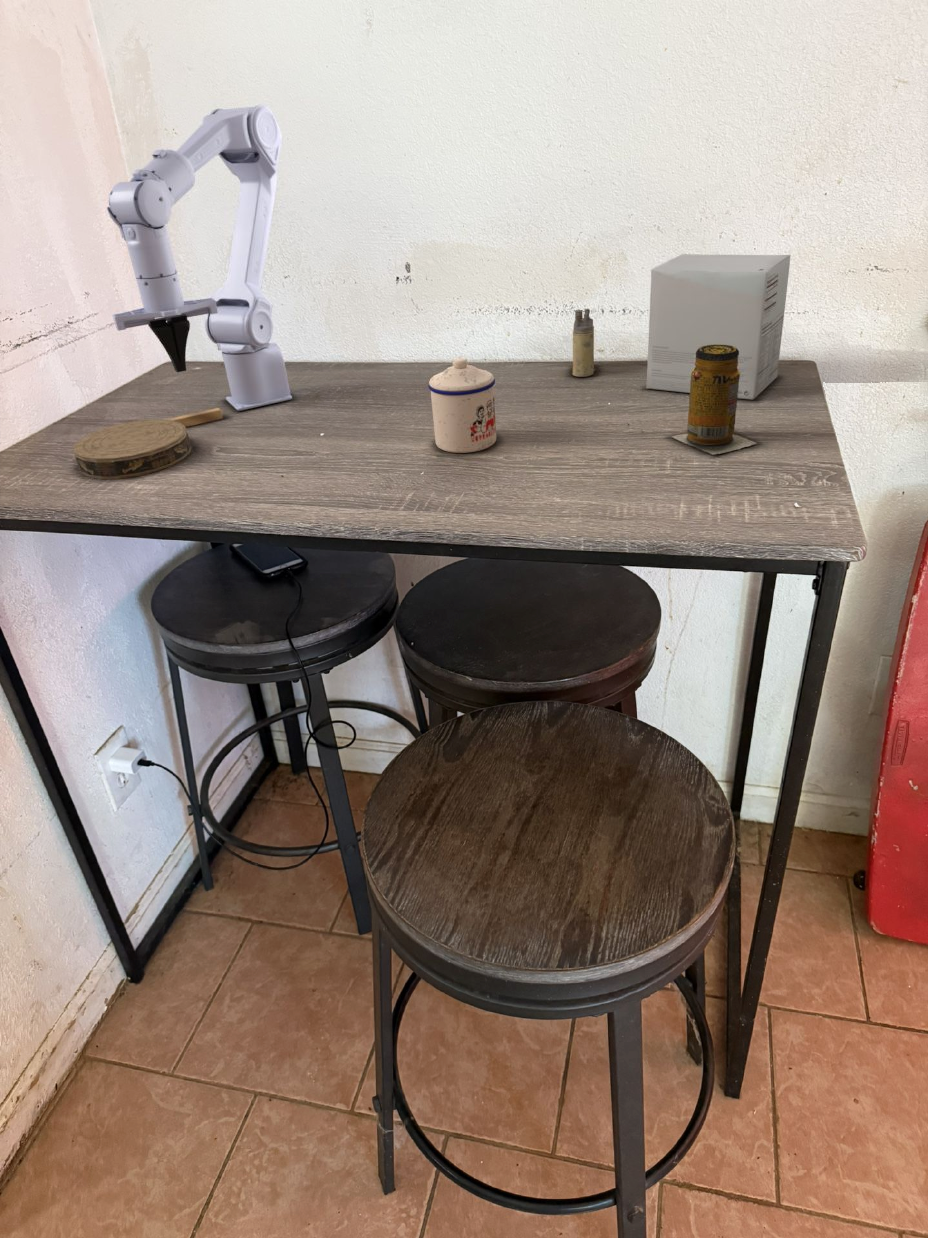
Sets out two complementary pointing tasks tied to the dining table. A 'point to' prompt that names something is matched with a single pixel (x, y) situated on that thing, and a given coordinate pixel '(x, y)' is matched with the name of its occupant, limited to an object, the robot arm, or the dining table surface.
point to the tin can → (132, 449)
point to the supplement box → (717, 317)
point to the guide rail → (198, 417)
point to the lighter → (583, 344)
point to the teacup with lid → (463, 408)
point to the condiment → (714, 401)
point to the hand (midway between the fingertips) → (180, 370)
